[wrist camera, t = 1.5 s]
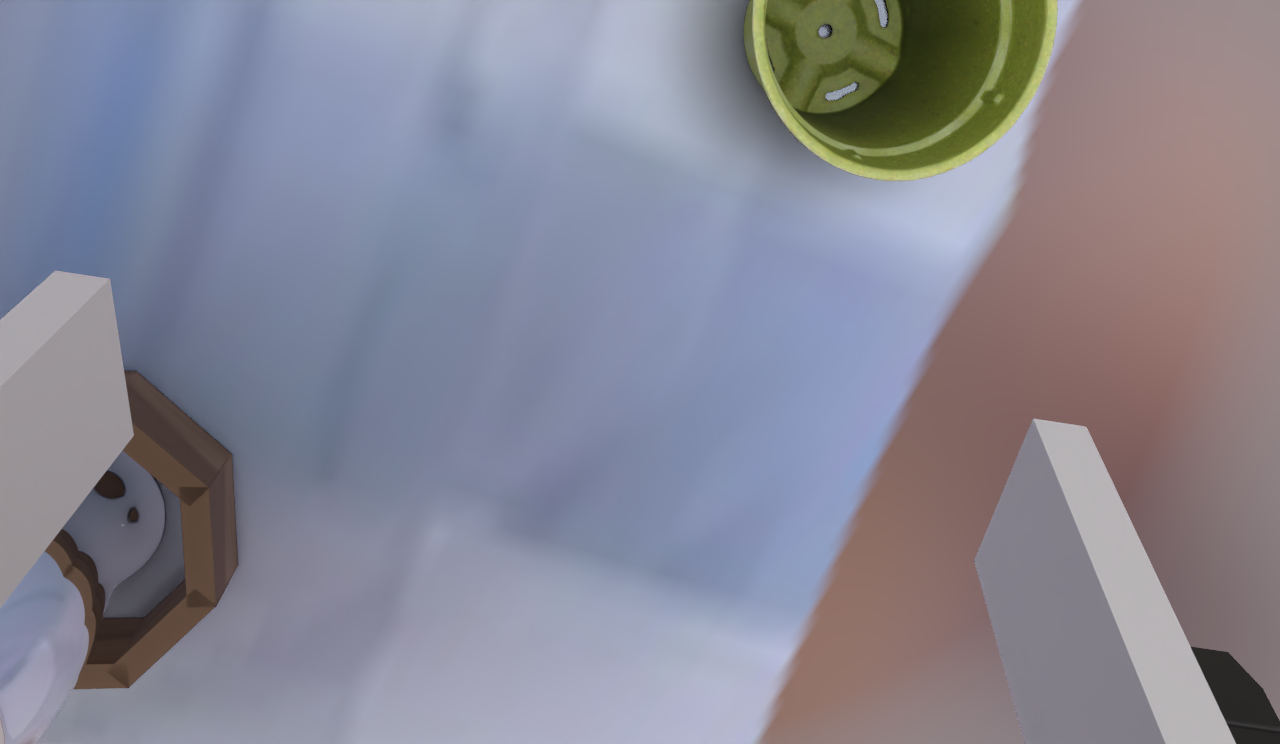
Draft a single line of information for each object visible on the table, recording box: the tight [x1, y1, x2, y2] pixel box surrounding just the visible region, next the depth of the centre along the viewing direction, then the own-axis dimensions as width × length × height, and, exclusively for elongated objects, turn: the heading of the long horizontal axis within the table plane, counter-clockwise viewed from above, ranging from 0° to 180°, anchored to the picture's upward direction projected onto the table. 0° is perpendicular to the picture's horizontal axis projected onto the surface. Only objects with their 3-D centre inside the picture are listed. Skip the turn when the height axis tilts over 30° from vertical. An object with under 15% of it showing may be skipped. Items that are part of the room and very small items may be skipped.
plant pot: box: [744, 0, 1058, 181], centre depth 36 cm, size 9×9×9 cm
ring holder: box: [73, 370, 238, 689], centre depth 40 cm, size 11×11×4 cm
